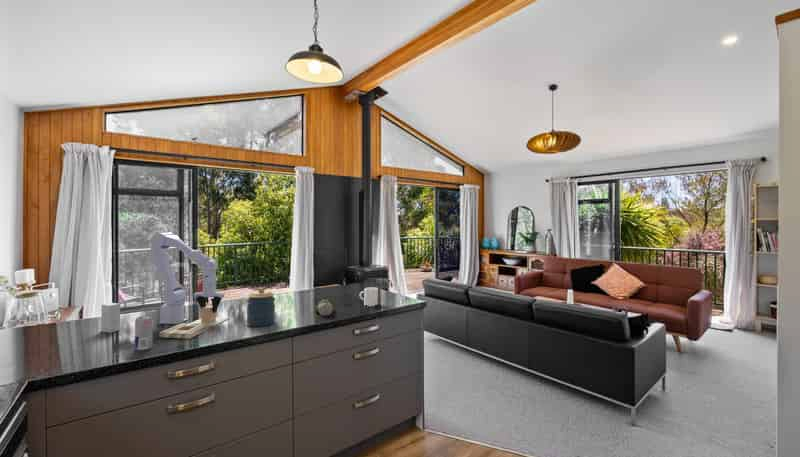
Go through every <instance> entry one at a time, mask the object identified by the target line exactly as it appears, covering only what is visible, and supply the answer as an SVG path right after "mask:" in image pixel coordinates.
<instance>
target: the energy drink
mask: <svg viewBox="0 0 800 457" xmlns="http://www.w3.org/2000/svg"><path fill="white" fill-rule="evenodd" d="M134 330H135V331H134V348H135V350H136V351H146V350H149V349H152V348H153V316H151V315H143V316H139V317H136V318H135V321H134Z"/></svg>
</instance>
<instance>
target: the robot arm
mask: <svg viewBox="0 0 800 457" xmlns="http://www.w3.org/2000/svg"><path fill="white" fill-rule="evenodd" d="M149 243H150V255H151V258H152V260H153V262H154V265H155V268H156V269H157V272H158V274H159V277H160V278H161V282H162V284H163V290H162V291H161V293H162V295H163V296H162V300H163V303H164V304H162V305H161V307H160V312H159V315H160V318H159V319H160V321H159V322H158V324H165V325H166V324H167V325H168V324H169V325H179V324H181V323H185V321H188V320H189V318H185V302H186V301H185V300H186V299H187V297H188V292H187V290H186V289H185V288H184V287H183V285H182V284H181V283H179V282H178V281H177V278H176V276H175V273H174V271H173V269H172V266H171V264H170V262H169V259H168V256H167V253H166V252H167V251H168V249H169V248H170V247H174V248H176V249H178V250H179V251H181V252H182V253H184V254H185V255H187V256H188V257H187V258H188V259H189V260H190V261H191V262H192V263H194V264H195V265H196V266H197V267H199V269H200V271H201V272H202V292H200V291H199V292H195V293H193V297H194V298H195V300H196V302H197V303H198V305H199V308H200V309H201V308H202V307H205V306H207V300H208V298H211V299H210V301H211V306H213V313H215V312H216V313H217V312H218V308H219V305H220V303H221V301H222V299H224V298H225V293H222V292H217V269H218V268H219V263H218V261H217V260H216V259H215V258H211V257H210V256H206V254H204V253H203V251H202V250H198V249H193V248H191V247H190V246H189V245H188V244H187V243H186V242H184V241H183V240H182V239H181V238H180V237H179V236H178V235H176V234H174V233H173V232H171V231H168V232H156V233H154V234H152V235H151V237H150V239H149Z"/></svg>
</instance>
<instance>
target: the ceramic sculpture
mask: <svg viewBox="0 0 800 457" xmlns="http://www.w3.org/2000/svg"><path fill="white" fill-rule="evenodd" d="M313 309H314V311H315V312H318V313H319V314H320V316H322V317H327V316H330V315H331V314H332V313H333V310H334V305H332V303H331V302H330V301H329V299H327V298H323V299H322V300H319V302H318V305H317V306H314V308H313Z"/></svg>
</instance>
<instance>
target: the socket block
mask: <svg viewBox="0 0 800 457" xmlns="http://www.w3.org/2000/svg"><path fill="white" fill-rule="evenodd" d="M211 327H212V326H211V324H197V323H192V322H181V323H179V324H175V325H174V326H171V327H169V328H167V329H164V330H162V331H160V332H159V333H158V334H159V338H168V339H188V340H189V339H190V340H191V339H192V338H194V337H196V336H198V335H200V334H203V333H205V332H206V331H208V330H210V329H211Z"/></svg>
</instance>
